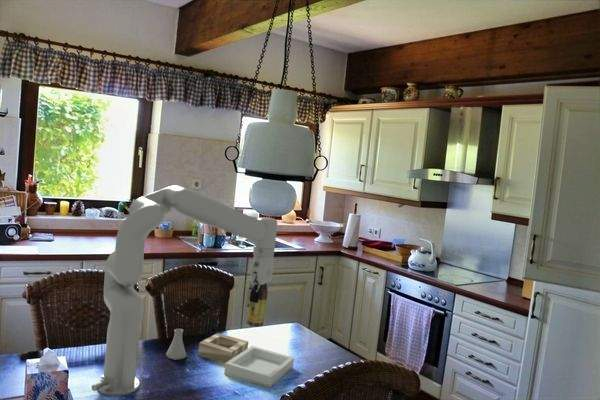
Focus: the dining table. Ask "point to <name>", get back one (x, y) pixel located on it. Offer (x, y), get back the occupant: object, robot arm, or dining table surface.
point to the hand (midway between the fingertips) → (258, 299)
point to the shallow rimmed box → (221, 347)
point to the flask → (177, 346)
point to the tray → (259, 366)
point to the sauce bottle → (258, 308)
